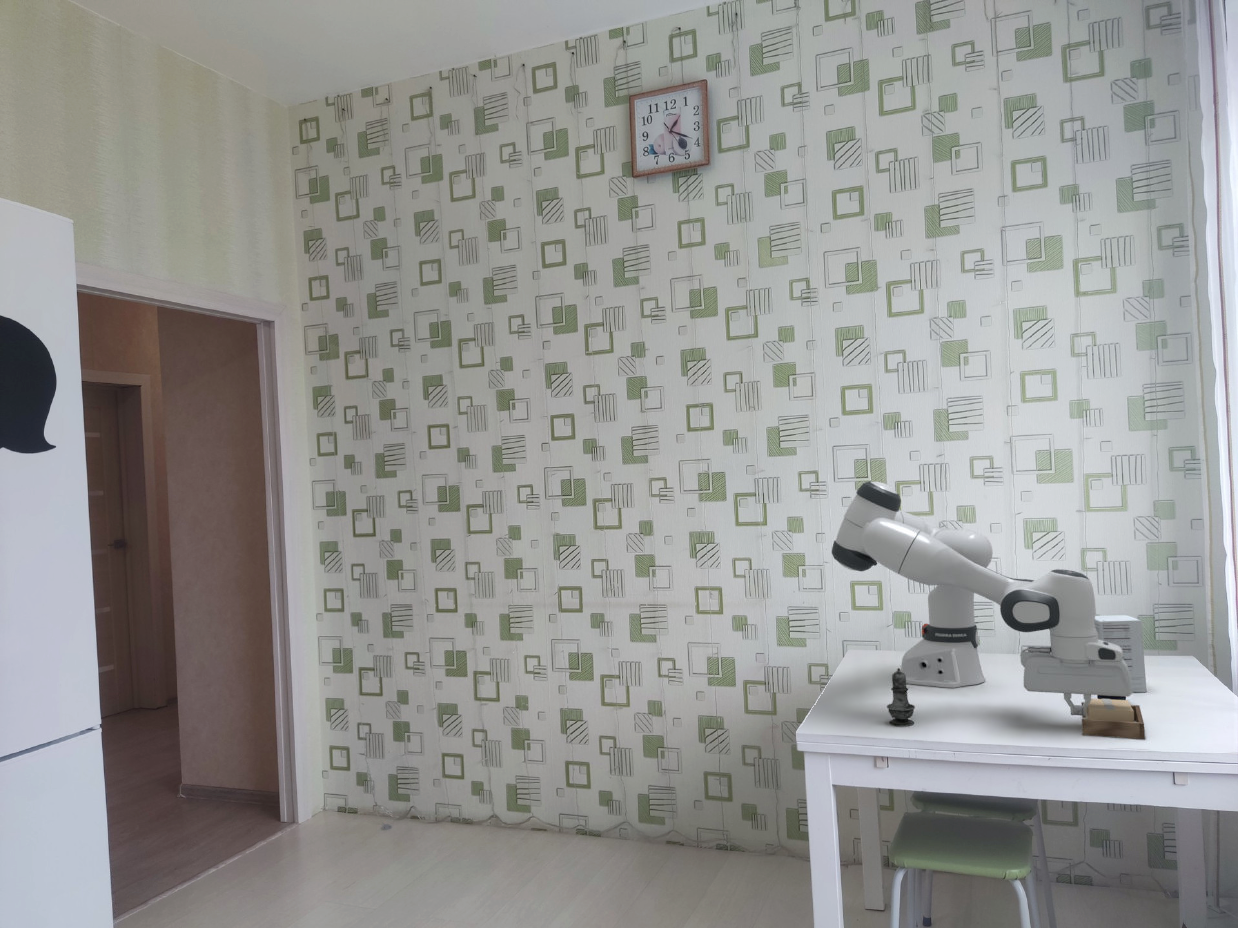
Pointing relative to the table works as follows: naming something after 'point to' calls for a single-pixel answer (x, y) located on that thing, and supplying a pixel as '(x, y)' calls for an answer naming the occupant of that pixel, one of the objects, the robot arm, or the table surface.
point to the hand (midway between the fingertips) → (1078, 714)
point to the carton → (1110, 710)
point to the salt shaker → (900, 701)
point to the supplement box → (1125, 644)
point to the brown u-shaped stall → (1116, 726)
